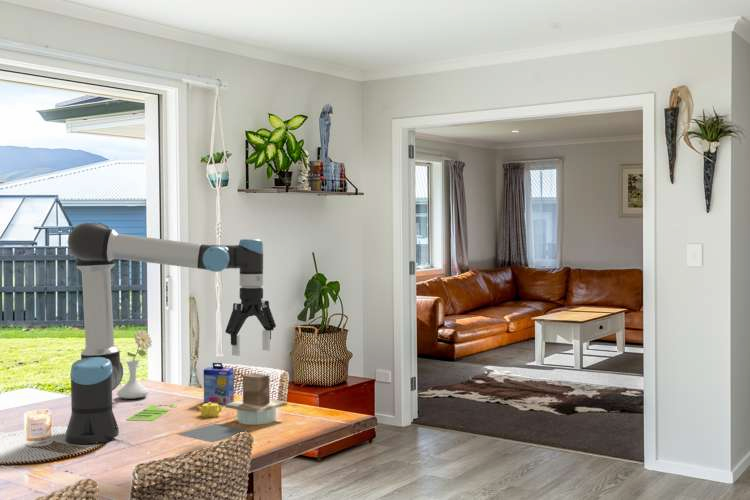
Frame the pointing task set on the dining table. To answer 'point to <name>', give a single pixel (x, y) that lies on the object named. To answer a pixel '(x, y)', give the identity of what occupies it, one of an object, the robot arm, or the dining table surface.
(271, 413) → the bowl
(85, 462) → the dining table surface
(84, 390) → the robot arm
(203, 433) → the mat
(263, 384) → the lid
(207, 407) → the teapot
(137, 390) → the flower in vase
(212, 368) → the ink cartridge box
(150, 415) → the door hanger
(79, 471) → the dining table surface
